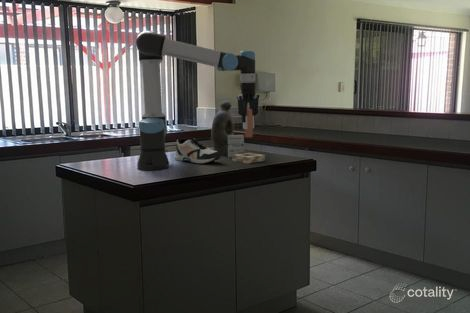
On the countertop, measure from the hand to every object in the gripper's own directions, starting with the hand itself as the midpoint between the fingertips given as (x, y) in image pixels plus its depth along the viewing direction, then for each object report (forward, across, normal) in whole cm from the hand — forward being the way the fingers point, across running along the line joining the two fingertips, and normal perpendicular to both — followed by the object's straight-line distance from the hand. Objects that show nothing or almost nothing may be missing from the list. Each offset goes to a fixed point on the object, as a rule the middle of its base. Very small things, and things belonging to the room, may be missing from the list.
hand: (248, 128), depth 245 cm
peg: (+4, 0, 0) cm, 4 cm away
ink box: (+17, +4, +15) cm, 23 cm away
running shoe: (+17, -21, +17) cm, 32 cm away
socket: (+17, 0, 0) cm, 17 cm away
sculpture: (+17, +6, +29) cm, 34 cm away
